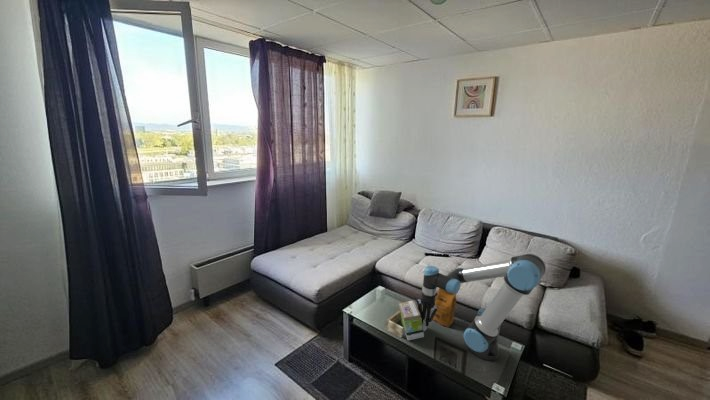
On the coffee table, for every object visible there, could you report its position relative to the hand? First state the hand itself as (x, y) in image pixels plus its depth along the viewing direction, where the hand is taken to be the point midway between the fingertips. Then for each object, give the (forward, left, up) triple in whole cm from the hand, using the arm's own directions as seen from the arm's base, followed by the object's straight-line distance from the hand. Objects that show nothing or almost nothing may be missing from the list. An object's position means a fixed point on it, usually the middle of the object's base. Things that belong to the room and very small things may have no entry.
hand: (424, 329), depth 166 cm
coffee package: (-2, -21, -4) cm, 21 cm away
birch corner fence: (+14, +2, -3) cm, 14 cm away
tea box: (+6, +3, -2) cm, 7 cm away
